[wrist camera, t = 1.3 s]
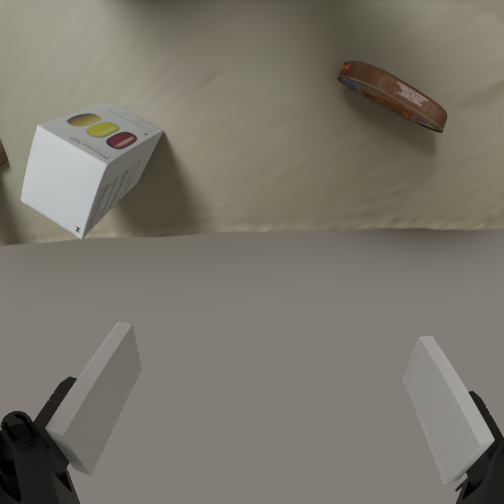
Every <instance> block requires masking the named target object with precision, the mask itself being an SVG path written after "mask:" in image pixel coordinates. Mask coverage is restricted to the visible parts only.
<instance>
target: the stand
mask: <svg viewBox="0 0 504 504" xmlns="http://www.w3.org/2000/svg"><path fill="white" fill-rule="evenodd" d="M7 159H8V158H7V156H6V153H5V151H4V148H3V145H2V143H1V140H0V165H1V164H3V163H4V162H5V161H6V160H7Z"/></svg>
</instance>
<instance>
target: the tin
mask: <svg viewBox="0 0 504 504" xmlns="http://www.w3.org/2000/svg"><path fill="white" fill-rule="evenodd" d="M337 79H338V80H339V81H340V82H341V83H342V84H344V85H345V86H347V87H349V88H350V89H352V90H354V91H356V92H358V93H360V94H362V95H364V96H366V97H368V98H370V99H372V100H374V101H376V102H378V103H380V104H382V105H383V106H385V107H387V108H389V109H391V110H392V111H394V112H396V113H398V114H399V115H401V116H403V117H405V118H407V119H409V120H411V121H412V122H414V123H416V124H418V125H421V126H423V127H425V128H428V129H430V130H433V131H435V132H439V133H442V132H443V128H444V125H445V123H446V120H447V113H446V111H445V110H444V109H443V108H442V107H441V106H440V105H439V104H437V103H436V102H434V101H433V100H432V99H430V98H429V97H427V96H426V95H424V94H423V93H421V92H420V91H418V90H416V89H415V88H413V87H412V86H410V85H408V84H407V83H405V82H403V81H402V80H400V79H398V78H397V77H395V76H393V75H391V74H389V73H388V72H386V71H384V70H382V69H379V68H377V67H375V66H372V65H369V64H366V63H363V62H358V61H350V62H345V63H344V64H343V66H342V69H341V71H340V74H339V76H338V77H337Z"/></svg>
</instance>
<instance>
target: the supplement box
mask: <svg viewBox="0 0 504 504" xmlns="http://www.w3.org/2000/svg"><path fill="white" fill-rule="evenodd" d="M162 134H163V130H161V129H160V128H158V127H156V126H154V125H152V124H151V123H149V122H147V121H145V120H143V119H141V118H140V117H138V116H136V115H134V114H132V113H130V112H128V111H126V110H125V109H123V108H121V107H119V106H117V105H115V104H113V103H110V104H106V105H102V106H98V107H94V108H91V109H87V110H84V111H80V112H77V113H73V114H70V115H67V116H64V117H61V118H58V119H55V120H52V121H49V122H46V123H43V124H40V125H38V126H37V129H36V132H35V136H34V139H33V143H32V147H31V151H30V155H29V160H28V164H27V169H26V173H25V178H24V183H23V189H22V195H21V201H22V202H23V203H25V204H27V205H28V206H30V207H31V208H33V209H34V210H36V211H38V212H39V213H41V214H42V215H44V216H46V217H47V218H49V219H50V220H52V221H54V222H55V223H57V224H58V225H60V226H61V227H63V228H64V229H66V230H67V231H69V232H71V233H72V234H74V235H75V236H76V237H78V238H79V239H81V240H82V239H83V238H84V237H85V236H86V235H87V234H88V233H89V231H90V230H91V229H92V228H93V227H94V226H95V225H96V224H97V223H98V222H99V221H100V220H101V219H102V218H103V217H104V216H105V215H106V214H107V213H108V211H109V210H110V209H111V208H112V207H113V206H114V205H115V204H116V203H117V202H118V201H119V200H120V199H121V198H122V197H123V196H124V195H125V194H127V193H128V192H129V191H130V190H131V189H132V188H133V187H134V186H135V185H136V184H137V183H138V182H139V179H140V177H141V175H142V173H143V171H144V169H145V167H146V165H147V163H148V161H149V159H150V157H151V155H152V153H153V151H154V149H155V147H156V145H157V143H158V141H159V139H160V137H161V135H162Z"/></svg>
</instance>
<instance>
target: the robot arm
mask: <svg viewBox="0 0 504 504" xmlns="http://www.w3.org/2000/svg"><path fill="white" fill-rule="evenodd" d="M141 370H142V366H141V362H140V357H139V353H138V348H137V344H136V339H135V334H134V328H133V325H132V324H129V323H122V322H117V324H116V325H115V327H114V328H113V329H112V331H111V332H110V334H109V335H108V336H107V337H106V339H105V340H104V342H103V343H102V344H101V346H100V347H99V349H98V350H97V351H96V353H95V354H94V356H93V357H92V358H91V360H90V361H89V363H88V364H87V366H86V367H85V368H84V370H83V371H82V373H81V374H80V376H79V377H78V379H77V378H73V377H68V378H67V379H65V380H64V381H63V382H61V383H60V384H59V386H58V387H57V388H56V390H55V391H54V394H52V395H51V397H50V399H49V401H47V403H46V404H45V406H44V407H43V409H42V410H41V412H40V413H39V414H38V416H37V417H36V419H35V420H34V422H32V420H31V419H30V417H29V416H28V415H27V414H26V413H24V412H21V411H14V412H11V413H9V414H7V415H6V416H5V417H4V418H3V420H2V422H1V429H2V430H0V504H80V502H79V499H78V497H77V494H76V491H75V489H74V486H73V484H72V480H71V477H70V475H69V472H68V470H67V466H68V464H69V463H70V464H71V465H72V466H73V468H74V469H75V470H77V471H80V472H82V473H85V474H87V475H90V476H92V474H93V472H94V470H95V467H96V465H97V463H98V461H99V459H100V456H101V454H102V452H103V450H104V447H105V445H106V443H107V441H108V438H109V436H110V435H111V432H112V430H113V428H114V426H115V424H116V422H117V420H118V417H119V415H120V413H121V411H122V409H123V407H124V405H125V403H126V401H127V399H128V397H129V394H130V392H131V390H132V388H133V386H134V384H135V382H136V380H137V378H138V376H139V374H140V372H141ZM402 381H403V383H404V385H405V388H406V390H407V392H408V395H409V397H410V399H411V401H412V404H413V406H414V408H415V411H416V413H417V416H418V418H419V420H420V423H421V425H422V428H423V430H424V433H425V435H426V438H427V440H428V443H429V446H430V448H431V451H432V454H433V456H434V459H435V461H436V464H437V467H438V470H439V473H440V476H441V479H442V481H443V484H447V483H450V482H453V481H456V480H458V479H460V478H461V477H462V476H463V475H464V474H465V473H467V476H468V478H466V479H465V481H463V482H462V483H461V484H460V485H459V486H458V487H457V488H456V490H455V491H458V490H459V489H460V488H461V487H462V489H461V492H460V495H459V497H458V499H457V502H456V504H504V437H503V436H502V434H501V432H500V430H499V429H498V427H497V425H496V423H495V421H494V420H493V418H492V416H491V415H490V414H489V411H488V409H487V408H486V406H485V404H484V402H483V401H482V399H481V398H480V397H479V396H478V395H477V394H476V393H475V392H473V391H470V392H468V391H467V390H466V388H465V386H464V385H463V383H462V382H461V380H460V378H459V377H458V375H457V373H456V372H455V370H454V369H453V367H452V365H451V364H450V362H449V361H448V359H447V358H446V356H445V355H444V353H443V352H442V351H441V349H440V347H439V346H438V344H437V343H436V342H435V340H434V338H433V337H432V336H424V337H423V336H422V337H419V338H418V341H417V344H416V346H415V349H414V351H413V354H412V357H411V359H410V361H409V364H408V366H407V369H406V371H405V373H404V376H403V378H402Z"/></svg>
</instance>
